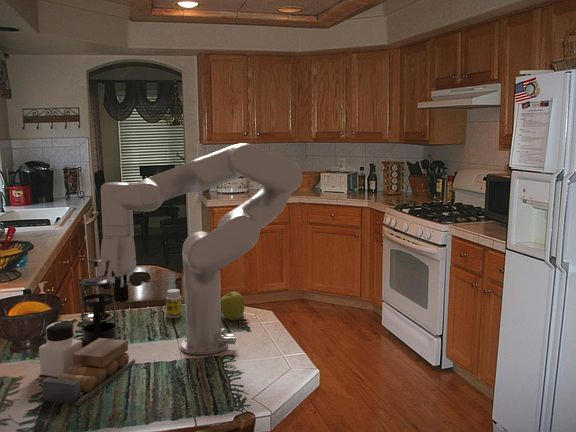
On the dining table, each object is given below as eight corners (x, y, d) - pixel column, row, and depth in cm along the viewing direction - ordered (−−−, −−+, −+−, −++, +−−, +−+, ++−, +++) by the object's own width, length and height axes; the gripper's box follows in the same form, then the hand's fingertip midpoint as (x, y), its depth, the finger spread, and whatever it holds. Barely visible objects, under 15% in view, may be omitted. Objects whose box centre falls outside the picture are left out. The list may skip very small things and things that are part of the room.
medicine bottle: (84, 367, 139) (81, 320, 138) (64, 378, 133) (60, 330, 131) (60, 363, 142) (57, 318, 140) (40, 375, 135) (36, 327, 133)
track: (135, 362, 142) (134, 349, 141) (77, 406, 119) (76, 390, 118) (100, 359, 144) (99, 346, 144) (37, 401, 121) (36, 385, 121)
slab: (128, 349, 140) (127, 340, 140) (103, 367, 130) (102, 357, 129) (99, 347, 142) (99, 337, 142) (73, 364, 132) (72, 354, 131)
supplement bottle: (164, 317, 177) (163, 292, 176) (170, 313, 182) (169, 288, 181) (178, 318, 176) (177, 292, 175) (184, 313, 181) (183, 288, 180)
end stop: (80, 400, 121) (79, 380, 121) (75, 404, 120) (74, 384, 119) (49, 396, 123) (47, 377, 123) (43, 400, 121) (41, 381, 121)
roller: (55, 390, 125) (57, 374, 126) (65, 388, 129) (67, 372, 129) (87, 393, 124) (89, 377, 124) (96, 391, 127) (97, 375, 128)
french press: (115, 343, 155) (110, 262, 152) (79, 346, 153) (74, 264, 150) (119, 329, 166) (115, 254, 163) (86, 331, 165) (82, 255, 162)
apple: (250, 311, 180) (246, 284, 176) (240, 325, 173) (235, 298, 169) (228, 308, 182) (223, 282, 178) (217, 323, 176) (212, 296, 172)
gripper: (120, 226, 150) (123, 292, 152) (87, 235, 136) (91, 308, 138) (146, 227, 148) (148, 294, 151) (115, 236, 134) (118, 310, 136)
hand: (121, 300), depth 144 cm, fingers closed
